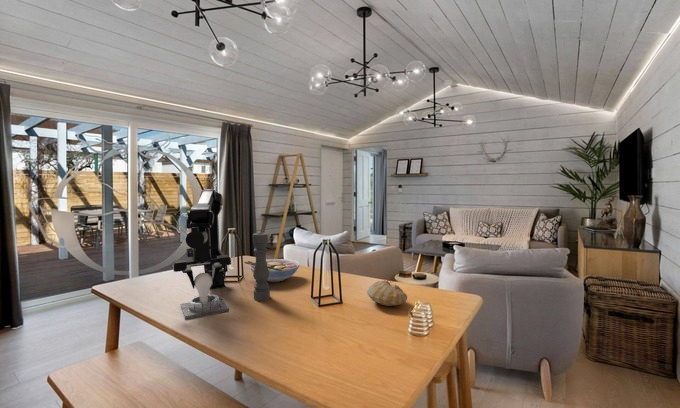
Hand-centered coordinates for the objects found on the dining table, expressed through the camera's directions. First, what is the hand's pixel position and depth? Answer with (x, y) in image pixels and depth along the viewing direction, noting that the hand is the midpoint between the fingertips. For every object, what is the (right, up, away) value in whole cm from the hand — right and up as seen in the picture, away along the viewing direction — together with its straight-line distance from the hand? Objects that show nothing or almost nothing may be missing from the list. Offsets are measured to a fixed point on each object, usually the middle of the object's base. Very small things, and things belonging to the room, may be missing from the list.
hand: (203, 286), depth 122 cm
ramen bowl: (+19, -6, +36) cm, 41 cm away
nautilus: (+66, -7, +5) cm, 67 cm away
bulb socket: (0, -8, 0) cm, 8 cm away
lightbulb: (0, -6, 0) cm, 6 cm away
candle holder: (+18, -7, +11) cm, 23 cm away
